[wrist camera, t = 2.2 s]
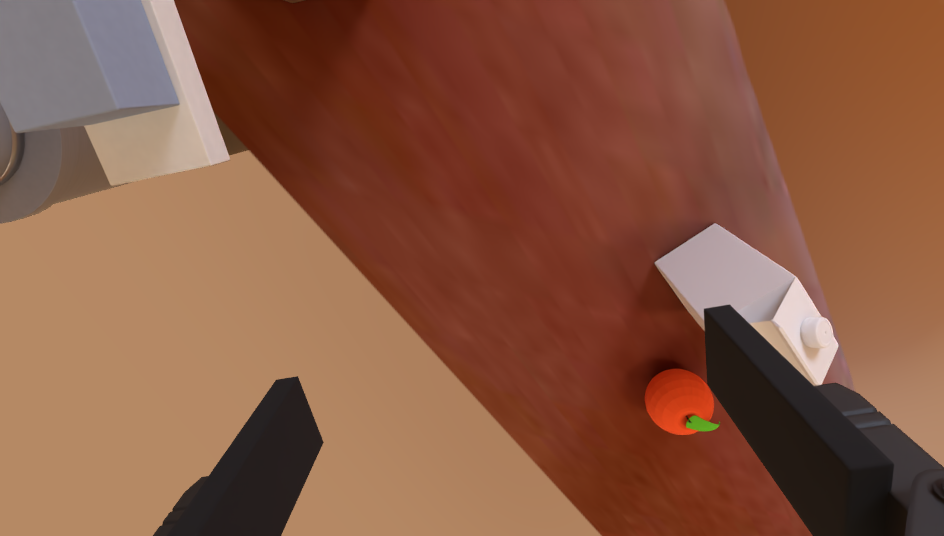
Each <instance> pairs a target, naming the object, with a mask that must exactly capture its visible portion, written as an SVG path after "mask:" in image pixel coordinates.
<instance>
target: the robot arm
mask: <svg viewBox="0 0 944 536" xmlns="http://www.w3.org/2000/svg"><path fill="white" fill-rule="evenodd" d="M24 146H25V137H24V132H23V133H16V132H15V131H14V129H13V127H12V125H11V123H10V121H9V119H8V117H7V115H6V113H5V111H4V109H3V107H2V105H1V103H0V185H1V184H3V183H5V182H6V181H8V180H9V179H10V178H11V177H12V176H13V175H14V174H15V172H16V171H17V169H18V168H19V166H20V163H21V161H22V158H23V154H24ZM704 326H705V346H706V365H707V384H708V386H709V387H710V389H711V390H712V392H713V393H714V394H715V396H716V397H717V399H718V400H719V402H720V403H721V404H722V406H723V407H724V409H725V410H726V412H727V413H728V414H729V416H730V417H731V419H732V420H733V422H734V423H735V425H736V426H737V427H738V429H739V430H740V432H741V433H742V435H743V436H744V437H745V439H746V440H747V442H748V443H749V445H750V446H751V448H752V449H753V450H754V452H755V453H756V455H757V456H758V458H759V459H760V460H761V462H762V463H763V465H764V466H765V468H766V469H767V470H768V472H769V473H770V475H771V476H772V478H773V479H774V481H775V482H776V483H777V485H778V486H779V488H780V489H781V491H782V492H783V493H784V495H785V496H786V498H787V499H788V501H789V502H790V504H791V505H792V506H793V508H794V509H795V511H796V512H797V514H798V515H799V516H800V518H801V519H802V521H803V522H804V524H805V525H806V526H807V528H808V529H809V531H810V532H811V534H812V535H813V536H944V467H943V466H942V465H940V464H939V463H938V462H937V461H936V460H935V459H933V458H932V457H931V456H930V455H929V454H928V453H927V452H925V451H924V450H923V449H922V448H921V447H920V446H918V445H917V444H916V443H915V442H914V441H913V440H912V439H910V438H909V437H908V436H907V435H906V434H905V433H903V432H902V431H901V430H900V429H899V428H898V427H897V426H895V425H894V424H891V422H890V420H889V419H887V418H886V417H885V416H884V415H883V414H882V413H881V412H877V410H876V408H875V407H874V406H873V405H871V404H870V403H869V402H868V401H867V400H866V399H865V398H863V397H862V396H861V395H860V394H858V393H856V392H854V391H852V390H850V389H848V388H846V387H844V386H842V385H840V384H838V383H830V384H823V385H816V386H813V385H812V384H811V383H810V382H809V381H808V380H807V379H806V378H805V377H804V376H803V375H802V374H801V373H800V372H799V371H798V370H797V369H796V368H795V367H794V366H793V365H792V364H791V363H790V362H789V361H788V360H787V359H786V358H785V357H783V356H782V355H781V354H780V353H779V352H778V351H777V350H776V349H775V348H774V347H773V346H772V345H771V344H770V343H769V342H768V341H767V340H766V339H765V338H764V337H763V336H762V335H761V334H760V333H759V332H758V331H757V330H756V329H755V328H753V327H752V326H751V325H750V324H749V323H748V322H747V321H746V320H745V319H744V318H743V317H742V316H741V315H740V314H739V313H738V312H737V311H736V310H735V309H734V308H733V307H732V306H731V305H730V304H729V305H723V306H717V307H711V308H705V309H704ZM322 444H323V440H322V437H321V435H320V432H319V430H318V427H317V425H316V422H315V419H314V417H313V415H312V412H311V409H310V407H309V404H308V401H307V399H306V396H305V394H304V391H303V389H302V386H301V383H300V381H299V378H298V377H292V378H285V379H279V380H276V381H275V382H274V384H273V385H272V387H271V388H270V390H269V391H268V392H267V394H266V395H265V397H264V398H263V400H262V401H261V403H260V404H259V405H258V407H257V408H256V410H255V411H254V412H253V414H252V415H251V417H250V418H249V419H248V421H247V422H246V424H245V425H244V427H243V428H242V429H241V431H240V432H239V434H238V435H237V436H236V438H235V439H234V441H233V442H232V444H231V445H230V447H229V448H228V450H227V451H226V452H225V454H224V455H223V456H222V458H221V459H220V461H219V462H218V464H217V465H216V467H215V468H214V469H213V471H212V472H211V474H210V475H209V476H206V477H201V478H200V479H199V480H198V481H197V482H196V483H195V484H193V485H192V486H191V487H190V488H189V489H188V490H187V491H186V492H185V493H184V494H183V495H182V497H181V498H180V499H179V501H178V502H177V503H176V505H175V506H174V508H173V511H172V512H170V513H169V514H168V516H167V517H166V518H165V520H164V521H163V525H162V526H160V527H159V528H158V529H157V531H156V532H155V534H154V535H153V536H281V534H282V532H283V530H284V528H285V525H286V523H287V521H288V519H289V517H290V515H291V512H292V510H293V508H294V506H295V504H296V501H297V499H298V497H299V495H300V493H301V490H302V488H303V486H304V484H305V482H306V479H307V477H308V475H309V473H310V471H311V468H312V466H313V464H314V461H315V460H316V457H317V455H318V453H319V451H320V449H321V446H322Z"/></svg>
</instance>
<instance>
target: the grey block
mask: <svg viewBox="0 0 944 536" xmlns="http://www.w3.org/2000/svg"><path fill="white" fill-rule="evenodd" d="M0 103H1V105H2V107H3V109H4V111H5V113H6V115H7V117H8V119H9V121H10V123H11V125H12V127H13V129H14V131H15V132H16V133H23V132H32V131H41V130H50V129H59V128H68V127H77V126H84V127H85V129H86V131H87V133H88V136H89V138H90V140H91V142H92V145H93V147H94V149H95V151H96V154H97V156H98V158H99V161H100V163H101V165H102V167H103V170H104V172H105V174H106V176H107V179H108V181H109V183H110V185H111V186H114V185H119V184H124V183H129V182H134V181H139V180H143V179H148V178H153V177H158V176H163V175H168V174H173V173H178V172H183V171H188V170H193V169H198V168H203V167H207V166H212V165H216V164H219V163H222V162H226V161H229V160H230V157H229V155H228V152H227V149H226V146H225V143H224V140H223V138H222V135H221V132H220V129H219V126H218V124H217V121H216V118H215V115H214V112H213V110H212V107H211V104H210V101H209V98H208V96H207V93H206V90H205V87H204V84H203V82H202V79H201V76H200V73H199V70H198V68H197V65H196V62H195V59H194V56H193V53H192V51H191V48H190V45H189V42H188V39H187V37H186V34H185V31H184V28H183V25H182V23H181V20H180V17H179V14H178V11H177V9H176V6H175V3H174V0H0Z"/></svg>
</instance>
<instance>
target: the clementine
mask: <svg viewBox="0 0 944 536" xmlns="http://www.w3.org/2000/svg"><path fill="white" fill-rule="evenodd" d="M645 404H646V409H647V412H648V414H649V415H650V417H651V419H652V420H653V421H654V422H655V423H656V424H657V425H658V426H659V427H660V428H662V429H663V430H665V431H667V432H669V433H673V434H678V435H688V434H693V433H695V432H698V431H711V430H715V429H716V428H717V427H718V426H719V425H720V421H719V424H718V425H717V424H713V423H710V422H709V421H710V419H711V417H712V415H713V410H714V400H713V395H712V393H711V391H710V389H709V387H708V385H707V384H706V383H705V382H704V381H703V380H702V379H701V378H700V377H699V376H698V375H696V374H694V373H692V372H690V371H687V370H683V369H669V370H665V371H663V372H660V373H658V374H657V375H656V376H655V377H653V378H652V380H651V381H650V382H649V384H648V386H647V388H646V392H645Z"/></svg>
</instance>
